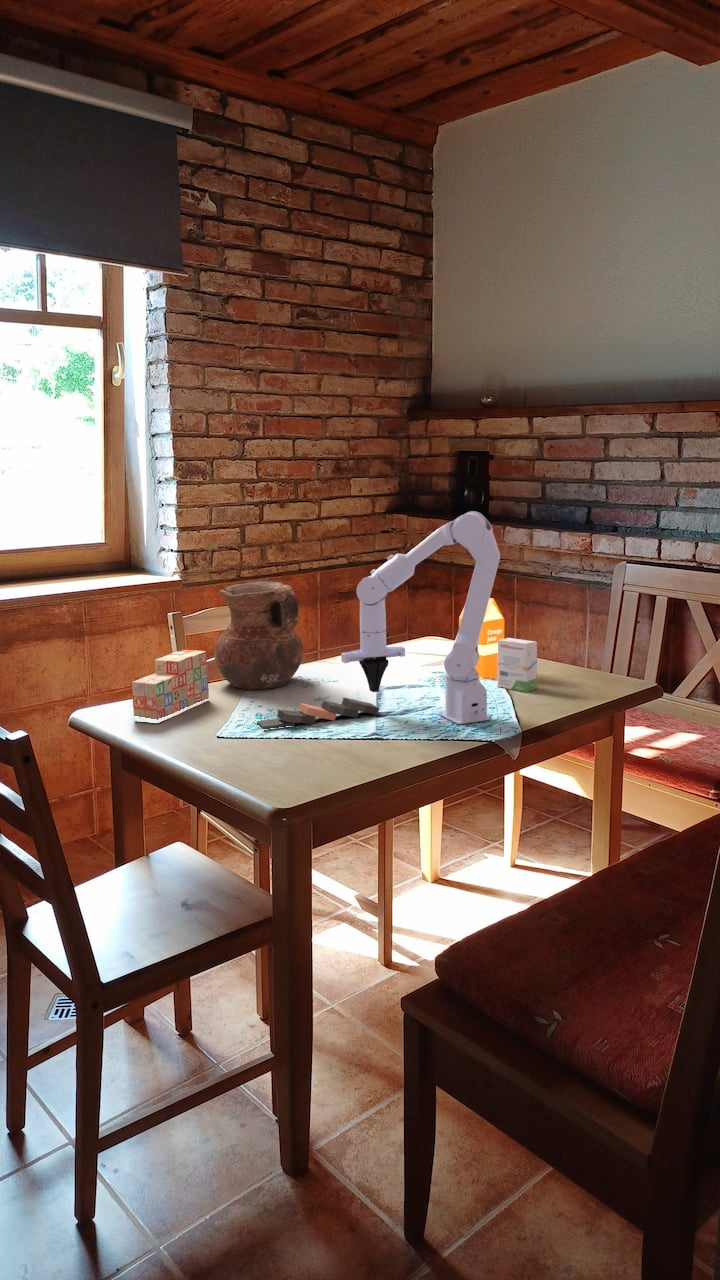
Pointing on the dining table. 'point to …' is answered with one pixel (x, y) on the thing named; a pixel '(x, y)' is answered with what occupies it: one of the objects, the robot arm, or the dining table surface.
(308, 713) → the tile
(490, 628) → the orange juice
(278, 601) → the jug
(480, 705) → the robot arm
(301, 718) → the tile
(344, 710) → the tile
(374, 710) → the tile
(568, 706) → the dining table surface
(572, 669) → the dining table surface
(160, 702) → the stack of blocks
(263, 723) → the tile
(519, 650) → the ink box
